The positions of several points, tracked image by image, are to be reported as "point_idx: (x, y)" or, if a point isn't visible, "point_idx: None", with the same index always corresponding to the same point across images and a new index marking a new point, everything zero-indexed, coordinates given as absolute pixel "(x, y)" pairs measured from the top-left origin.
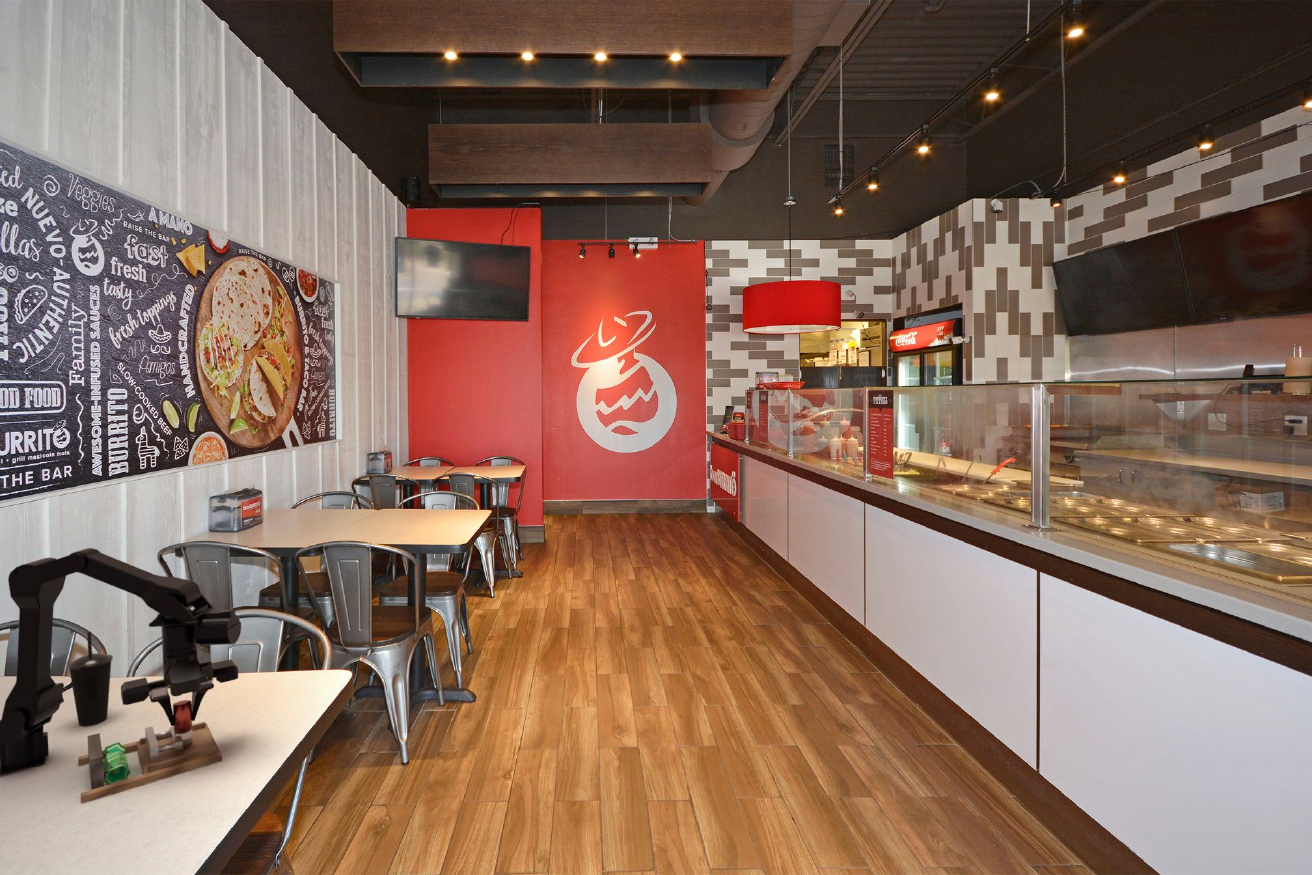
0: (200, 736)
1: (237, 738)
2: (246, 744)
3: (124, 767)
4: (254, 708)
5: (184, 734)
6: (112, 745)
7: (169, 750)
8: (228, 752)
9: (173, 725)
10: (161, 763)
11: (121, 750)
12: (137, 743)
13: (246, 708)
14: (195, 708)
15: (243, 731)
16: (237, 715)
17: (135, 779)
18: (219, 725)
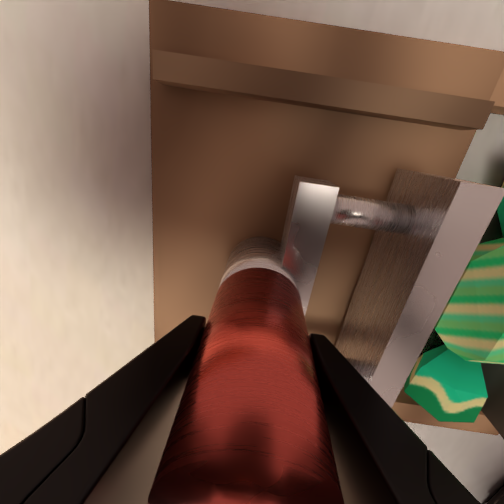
0: (191, 302)
1: (82, 214)
2: (51, 118)
3: None
4: (25, 388)
5: (264, 262)
6: (458, 415)
7: None
8: (126, 97)
9: (314, 333)
10: (428, 93)
11: (434, 375)
12: None
13: (47, 403)
14: (148, 374)
15: (59, 258)
16: (73, 381)
17: None
18: (127, 359)
